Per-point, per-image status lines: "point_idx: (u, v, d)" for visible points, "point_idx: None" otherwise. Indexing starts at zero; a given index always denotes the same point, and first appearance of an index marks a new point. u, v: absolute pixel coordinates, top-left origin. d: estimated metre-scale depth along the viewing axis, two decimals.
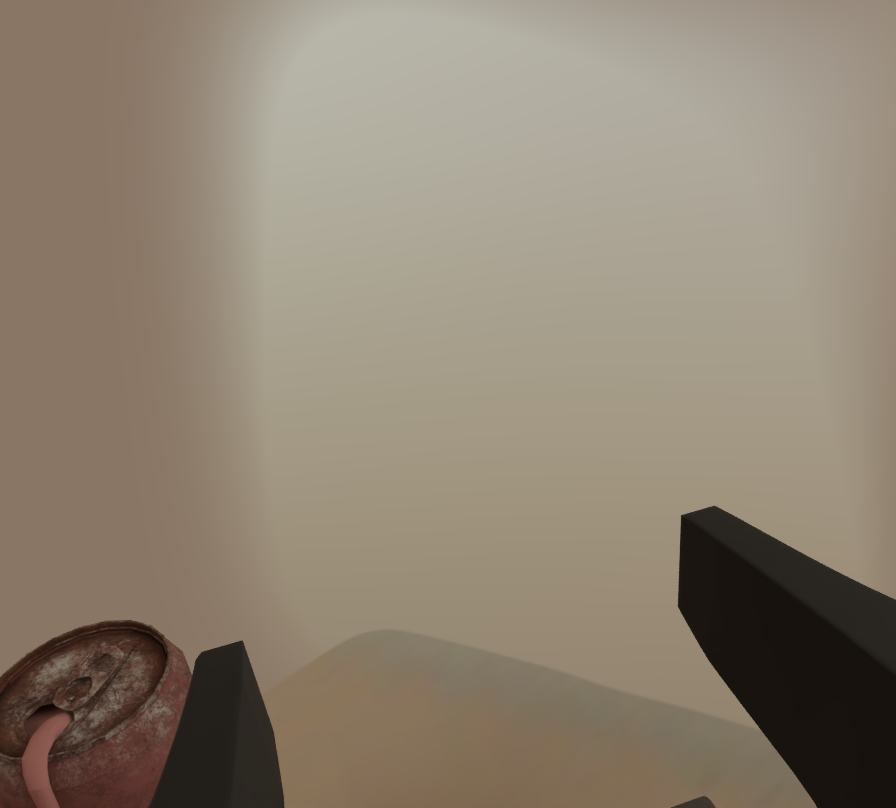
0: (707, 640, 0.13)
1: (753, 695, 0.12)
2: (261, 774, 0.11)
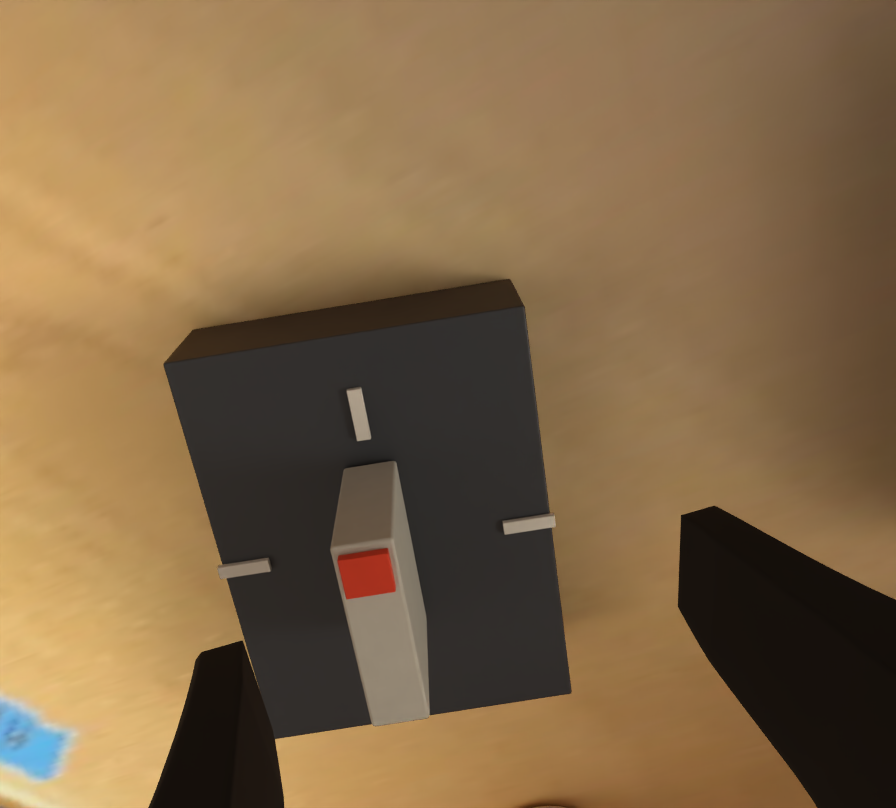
0: (707, 640, 0.13)
1: (753, 695, 0.12)
2: (261, 774, 0.11)
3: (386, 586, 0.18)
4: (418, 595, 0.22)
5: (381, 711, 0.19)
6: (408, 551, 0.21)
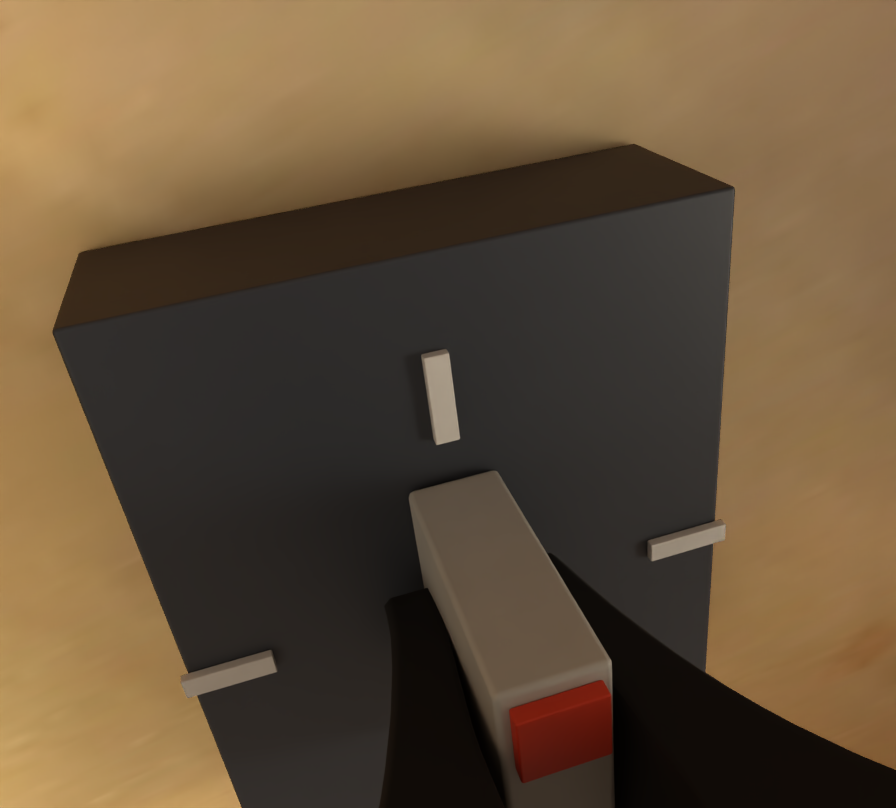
0: None
1: None
2: None
3: (596, 747, 0.09)
4: None
5: None
6: None
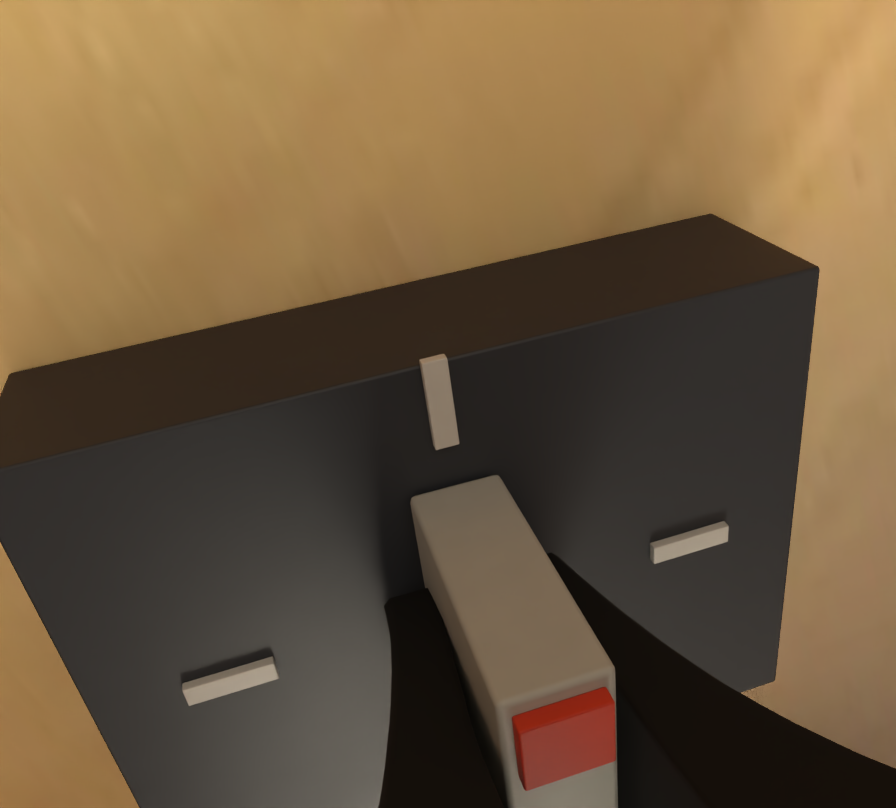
0: None
1: None
2: None
3: (599, 754, 0.09)
4: None
5: None
6: None
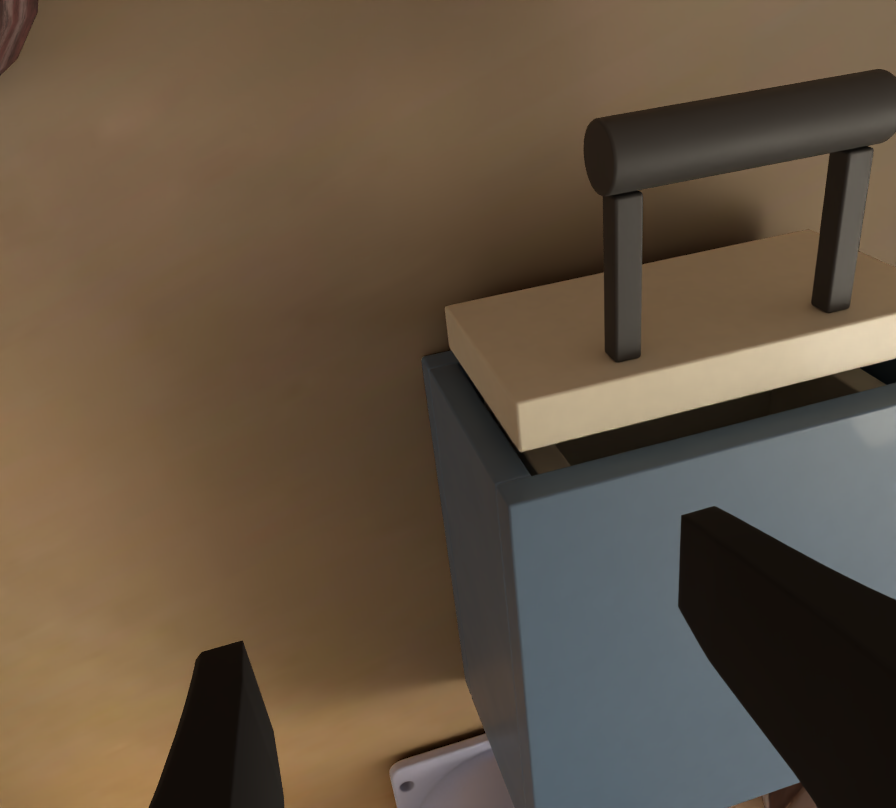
0: (707, 640, 0.13)
1: (753, 695, 0.12)
2: (261, 774, 0.11)
3: None
4: None
5: None
6: None
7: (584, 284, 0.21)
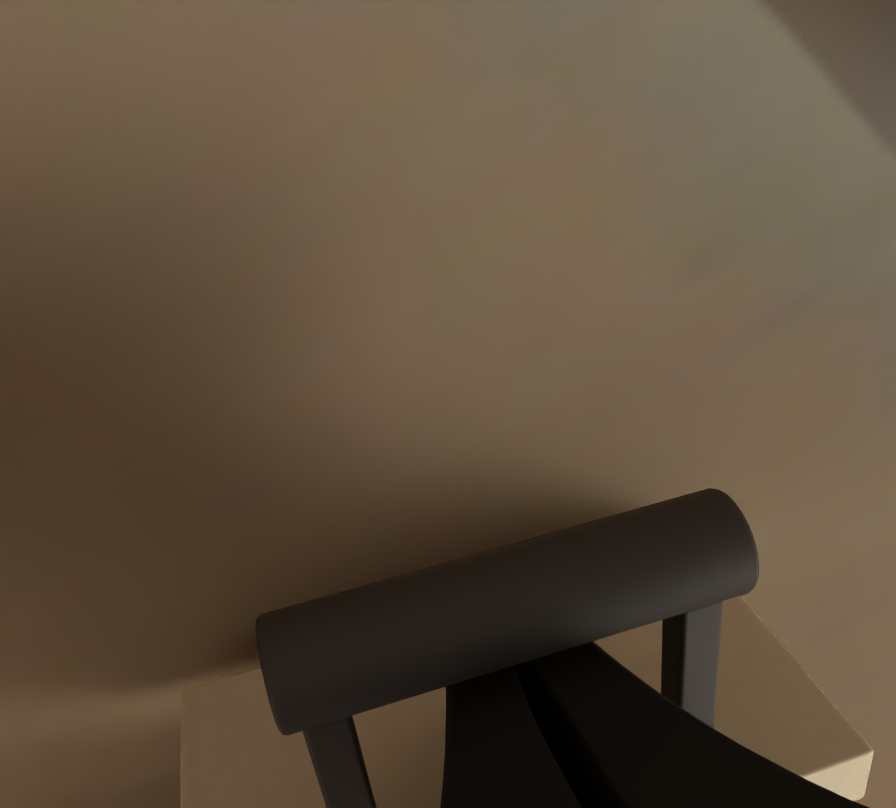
0: None
1: None
2: None
3: None
4: None
5: None
6: None
7: None
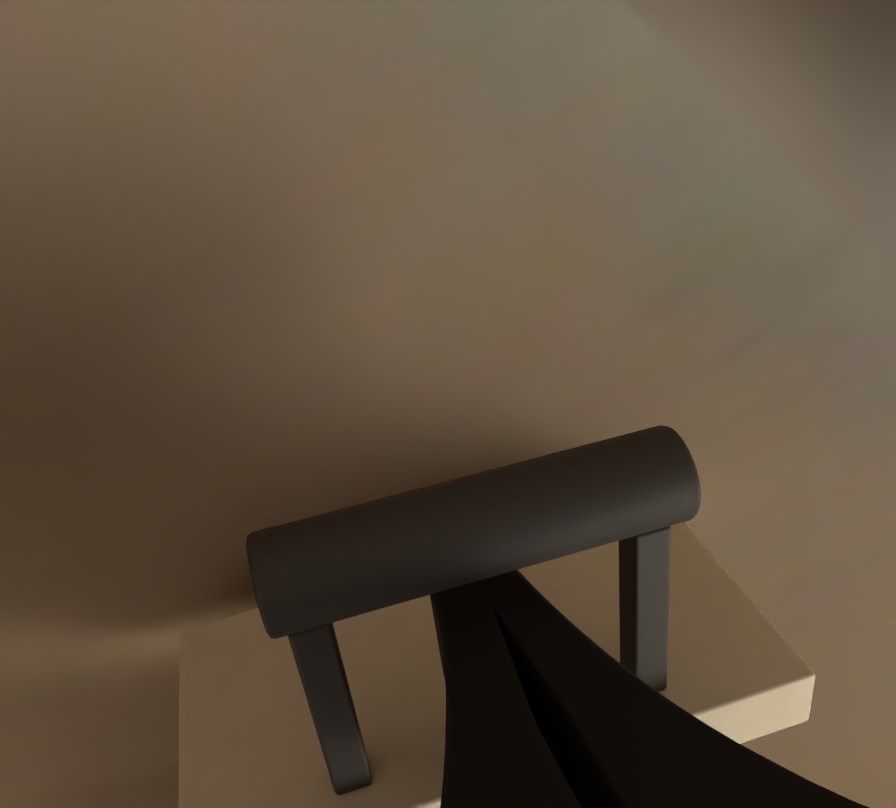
0: None
1: None
2: None
3: None
4: None
5: None
6: None
7: None
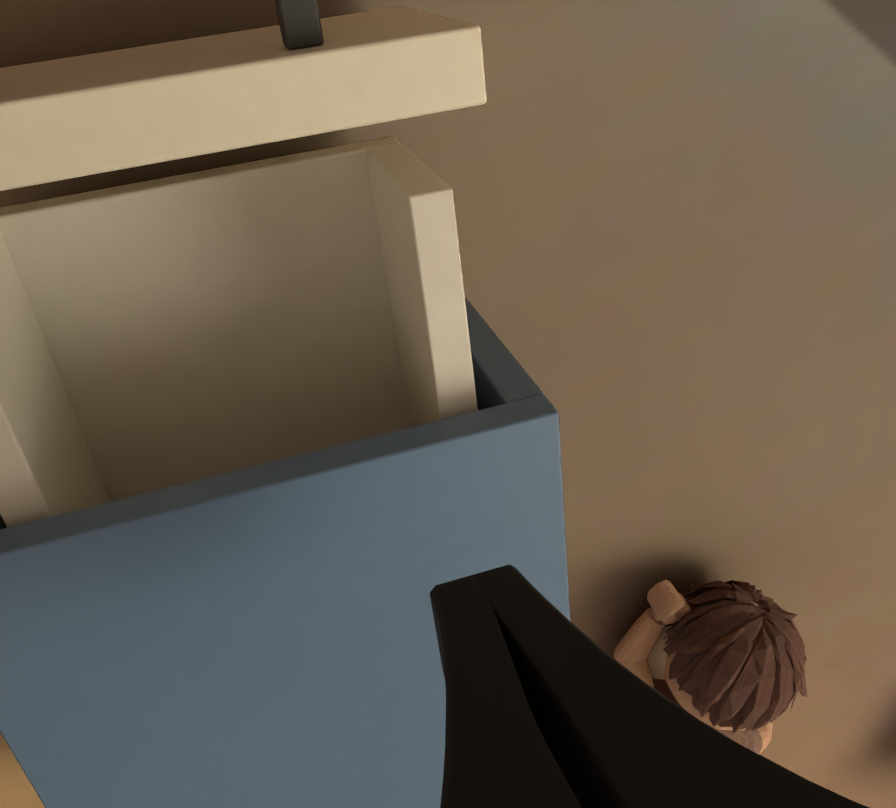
0: None
1: None
2: None
3: None
4: None
5: None
6: None
7: (63, 60, 0.16)
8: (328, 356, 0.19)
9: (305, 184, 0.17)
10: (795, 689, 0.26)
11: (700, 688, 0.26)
